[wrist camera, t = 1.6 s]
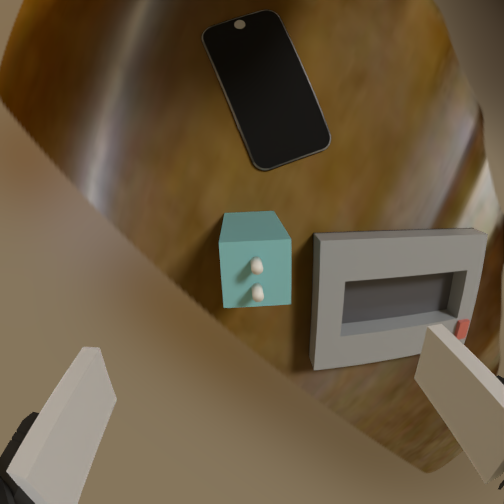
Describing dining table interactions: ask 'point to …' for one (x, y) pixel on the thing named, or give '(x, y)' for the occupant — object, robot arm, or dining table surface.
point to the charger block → (254, 260)
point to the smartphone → (266, 89)
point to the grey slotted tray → (390, 291)
